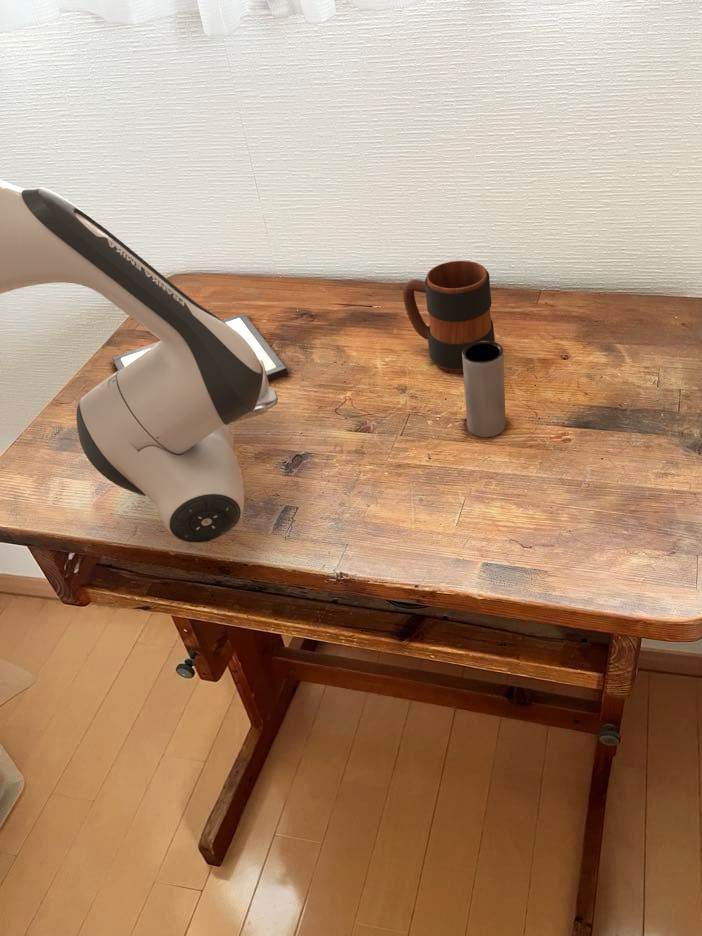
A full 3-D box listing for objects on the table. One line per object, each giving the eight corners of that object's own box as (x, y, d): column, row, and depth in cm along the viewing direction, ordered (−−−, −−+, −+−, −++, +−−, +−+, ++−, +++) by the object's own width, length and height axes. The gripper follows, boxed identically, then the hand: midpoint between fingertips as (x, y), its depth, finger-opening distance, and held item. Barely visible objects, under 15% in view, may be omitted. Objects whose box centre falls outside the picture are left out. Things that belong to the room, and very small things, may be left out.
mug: (423, 331, 115) (414, 251, 107) (505, 344, 111) (502, 261, 103) (396, 365, 110) (385, 284, 102) (480, 380, 105) (476, 296, 97)
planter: (472, 413, 101) (467, 338, 94) (509, 416, 100) (506, 341, 92) (463, 436, 98) (457, 361, 91) (501, 439, 97) (498, 363, 89)
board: (143, 426, 106) (141, 420, 106) (114, 363, 119) (111, 357, 118) (288, 374, 111) (286, 368, 111) (245, 318, 123) (243, 312, 123)
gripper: (274, 383, 91) (254, 324, 101) (88, 432, 89) (86, 366, 98) (286, 429, 96) (266, 368, 105) (109, 477, 93) (105, 409, 103)
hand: (178, 367), depth 102 cm, fingers open, 8 cm apart
